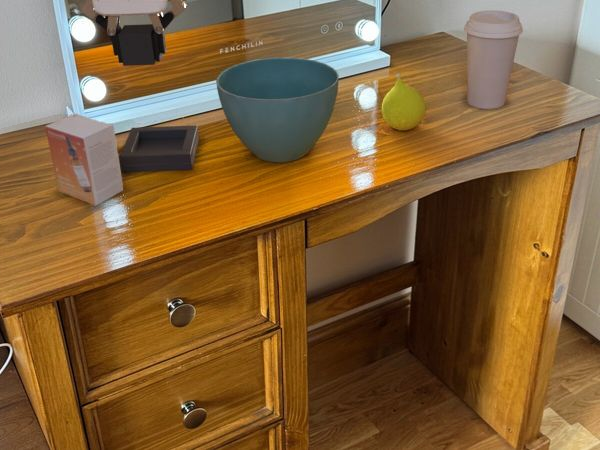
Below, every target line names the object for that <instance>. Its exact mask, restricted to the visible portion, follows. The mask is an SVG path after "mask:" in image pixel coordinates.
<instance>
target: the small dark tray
mask: <svg viewBox="0 0 600 450" xmlns="http://www.w3.org/2000/svg"><path fill="white" fill-rule="evenodd" d="M198 127H199V126H198V125H197V124H196V125H195V124H194V125H172V126H171V125H170V126H169V125H168V126H142V127H140V126H139V127H138V126H137V127H131V129H130V131H129V133H128V136H127V138H126V141H125V143H124V146H123V147H122V149H121V150H122V151H121V152H120V155H119V162H120V168H121V173H145V172H146V173H147V172H148V173H149V172H173V171H174V172H175V171H176V172H177V171H193V168H194V164H195V160H196V156H197V151H198V147H199V142H200V138H199V137H200V136H199V128H198Z"/></svg>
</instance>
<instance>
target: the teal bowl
mask: <svg viewBox="0 0 600 450" xmlns="http://www.w3.org/2000/svg"><path fill="white" fill-rule="evenodd" d="M339 81H340V76H339V73H338V71H337V70H336V68H334V67H332V66H331V65H329V64H326V63H324V62H321V61H318V60H314V59H308V58H302V57H301V58H300V57H267V58H266V57H265V58H260V59H259V58H258V59H253V60H249V61H248V60H247V61H244V62H241V63H238V64H235V65H232V66H229V67H228V68H226V69H225V70H223V71H222V72H220V73H219V74H218V76H217V77H216V80H215V82H216V83H215V84H216V90H217V94H218V99H219V102H220V106H221V108H222V111H223V113H224V115H225V118H226V120H227V122H228V124H229V126H230V128H231V129H232V131H233V132H234V134H235V135H236V137H237V138H238V140H239V141H240V142H241V143H242V144H243V146H245V148H247V150H249V152H250V153H252V154H253V155H254V156H255V157H257V158H258V159H259V160H262V161H265V162H270V163H290V162H294V161H297V160H299V159H302V158H303V157H305V156H306V155H307V154H308V153H309V152H310V151H311V150H312V149H313V148H314V146H315V145H316V144H317V143H318V141H319V140H320V139H321V137H322V135H323V134H324V132H325V131H326V129H327V127H328V125H329V122H330V120H331V119H332V118H331V117H332V115H333V113H334V109H335V105H336V101H337V97H338V91H339Z"/></svg>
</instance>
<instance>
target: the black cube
mask: <svg viewBox="0 0 600 450" xmlns="http://www.w3.org/2000/svg"><path fill="white" fill-rule="evenodd" d="M153 28H154V27H153V24H152V23H148V24H147V23H145V24H124V25H123V26H122V27H121V29H122V30H121V31H120V33H119V35H118V36H119V43H120V49H121V55H122V62H123V63H122V66H124V67H127V66H128V67H131V66H132V67H133V66H154V65H156V62H157V61H155V54H154V47H153V39H152V34H153V32H154V31H153Z"/></svg>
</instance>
